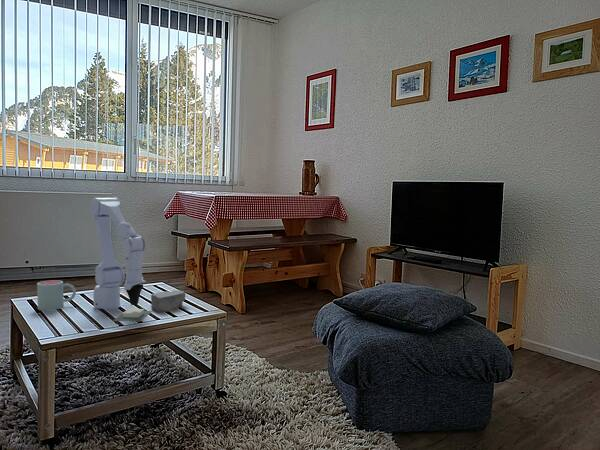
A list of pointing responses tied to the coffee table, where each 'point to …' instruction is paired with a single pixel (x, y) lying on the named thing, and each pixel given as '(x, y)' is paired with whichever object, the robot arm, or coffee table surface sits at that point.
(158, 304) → the decorative stone
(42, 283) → the mug
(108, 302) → the robot arm
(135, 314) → the tile
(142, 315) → the mat
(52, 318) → the coffee table surface
